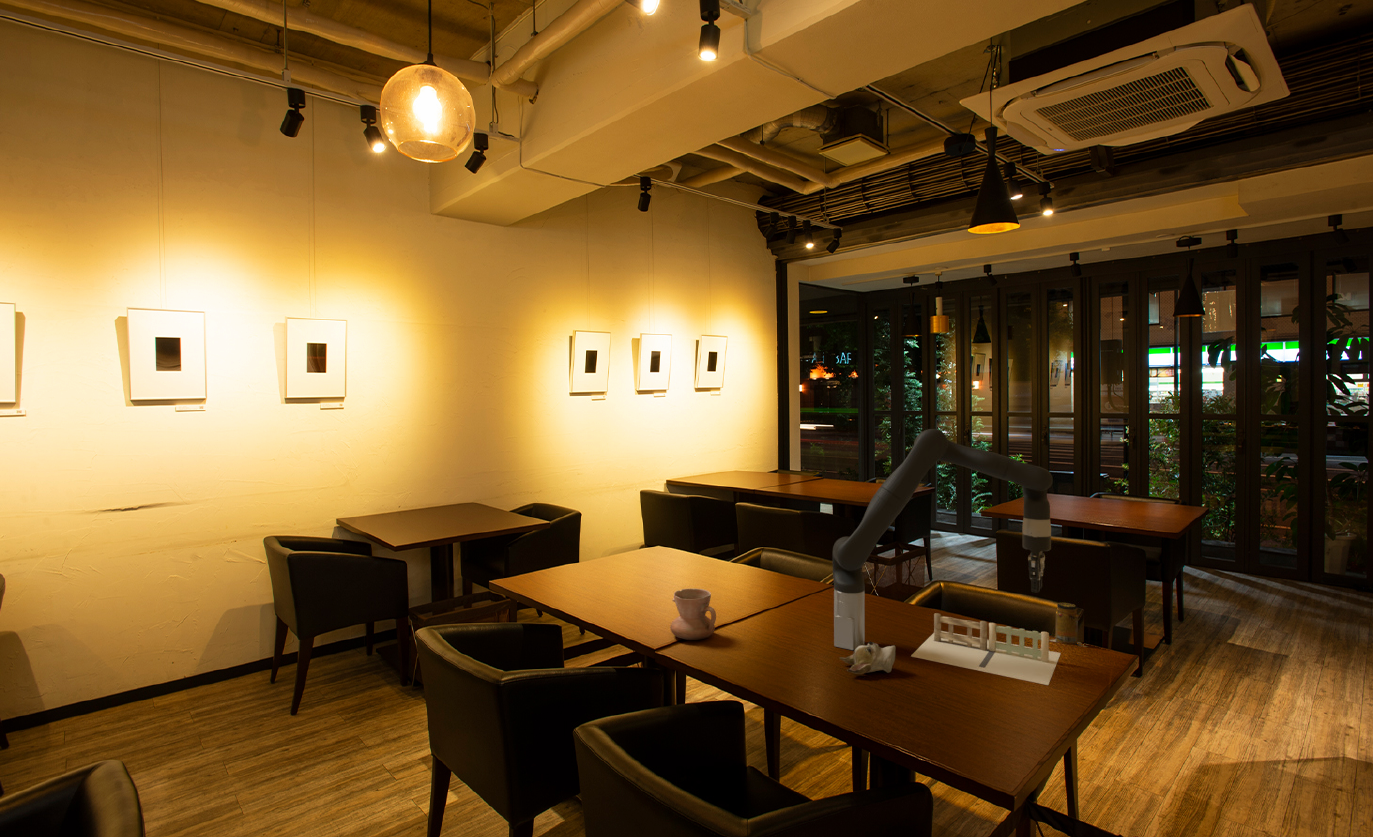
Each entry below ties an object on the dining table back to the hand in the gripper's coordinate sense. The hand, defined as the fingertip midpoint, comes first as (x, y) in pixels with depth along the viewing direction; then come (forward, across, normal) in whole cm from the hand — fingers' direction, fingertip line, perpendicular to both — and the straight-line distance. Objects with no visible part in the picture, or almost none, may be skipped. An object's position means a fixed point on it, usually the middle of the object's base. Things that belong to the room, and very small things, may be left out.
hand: (1036, 590), depth 198 cm
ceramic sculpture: (+20, +41, -36) cm, 58 cm away
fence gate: (+19, +6, -4) cm, 20 cm away
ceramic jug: (+19, +46, -93) cm, 106 cm away
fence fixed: (+19, +6, -20) cm, 28 cm away
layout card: (+19, +10, -12) cm, 25 cm away
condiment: (+20, -16, +7) cm, 26 cm away
